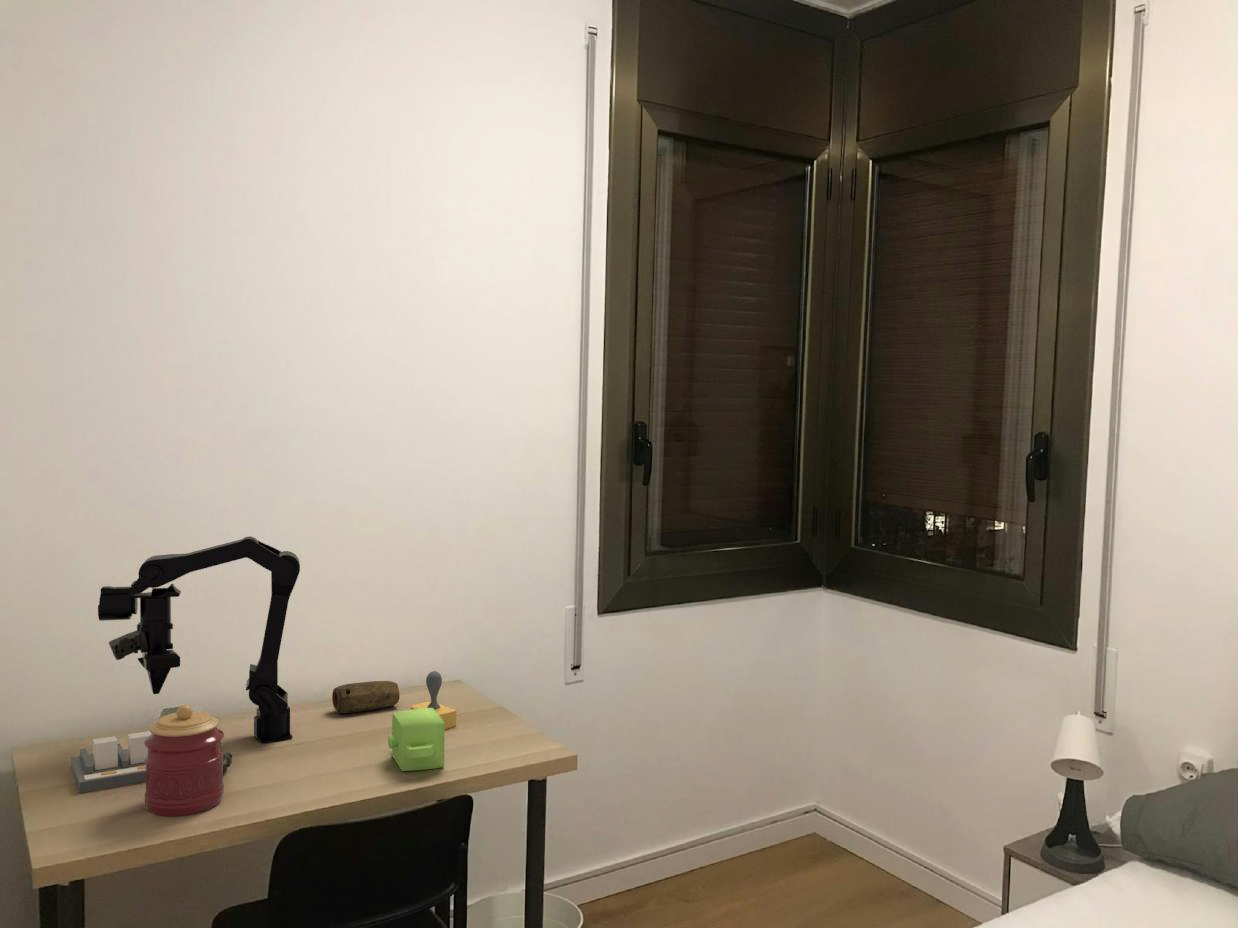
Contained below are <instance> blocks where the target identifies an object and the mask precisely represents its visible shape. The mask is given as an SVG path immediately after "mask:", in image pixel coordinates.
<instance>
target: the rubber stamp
mask: <svg viewBox="0 0 1238 928" xmlns="http://www.w3.org/2000/svg"><path fill="white" fill-rule="evenodd" d="M425 681H426V683H425V684H426V688H427V690H428V692H429V693H428V694H429V696H430V701H425V702H421V703H416V704H413V705H411V706H410V710H412V709H420V708H433V709H434V710H435V711H436V712H437V713H438V714H439V715H440V717H441V718H442V720H443V721H444V723H445V730H447V729H451V728H455V727H457V710H456V709H453V708H451V707H448V706H446V705H443V704H440V703H438V701H437V700H438V694H439V692H440V689H441V686H442V683H443V677H442V675H441V673H440V672H438V671H436V670H431V671H430V672H429V673H428V674H427V676H426V680H425Z"/></svg>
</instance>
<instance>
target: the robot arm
mask: <svg viewBox="0 0 1238 928" xmlns="http://www.w3.org/2000/svg"><path fill="white" fill-rule="evenodd" d="M246 558H247V559H249V560H251V561H253V562H254V563H256V565H259V566H261V567H262V568H264V569H265V570H266V571H269V572H270V573H271V576H270V577H271V578H270V579H271V580H270V581H271V584H270V585H271V597H270V602H269V606H268V613H267V619H266V623H265V629H264V635H263V640H262V644H261V645H262V646H261V650H260V651H261V652H260V657H259V659H258V661H257V663H256V665H255V664H252V663H250V664H249V672H248V673H249V674H248V678H247V680H246V684H245V685H246V686H245V691H248V699H249V700H250V701H251V702H252V704H254V705H256V706H257V708H256V715H254V716H253V736H255V738H256V739H257V740H258V741H259V742H260V743H261V744H265V743H272V742H278V741H284V740H289V739H293V734H292V733H291V708H290V706H289V700H288V699H289V696H288V694H289V692H287V691H286V690H285V689H284V688H282V687H281V686H280V685H279V684H278V683H279V681H278V680H279V675H278V672H279V668H278V665H279V664H278V663H279V662H278V661H279V655H280V649H281V644H282V639H283V633H284V628H285V622H286V619H287V618H286V617H287V611H288V606H289V600H290V597H291V595H292V592H293V591H294V588H295V585H296V582H297V580H298V577H299V574H300V572H301V564H300V563H301V562H300V558H299V557H298V556H297V554H296V553H294V552H291V551H289V550H286V551H285V550H283V551H281V550H280V549H278V548H275V547H273V546H271V545H269V544H267V543H264V542H262V541H260V540H258V539H257V538H256V537H254V536H251V535H250V536H245V537H243V538H241V539H237V540H233V541H230V542H226V543H223V544H222V543H221V544H218V545H214V546H210V547H206V548H203V549H199V550H195V551H192V552H187V553H186V552H185V553H171V554H169V553H167V554H161V555H160V554H158V555H152V556H150V557H148V558H146V560H145V561H144V562H143V563H141V566H140V567H139V569H138V578H137V579H136V580H133V581H132V583H131V584H130V586H108V585H107V586H106V585H105V586H101V588H100V594H99V600H98V601H99V602H98V605H97V615H98V616H97V617H98V621H100V622H101V621H103V622H104V621H125V620H131V619H132V617H133V615H137V614H138V606H139V614H140V615H139V616H140V617H139V621H140V622H138V624H136V630H134V631H132V632H128V633H126V634H123V635H121V636H119V637H117V638H114V639H112V640H110V641H108V645H109V647H110V649H111V652H112V654H113V657H114V658H115V660H117V661H118V660H119V661H120V660H122V659H124V658H125V657H126V656H129V655H132V654H138V653H139V651H140V653H141V657H137V661H138V663H140V665H141V666H142V668H144V669H145V670H146V672H147V675H148V679H149V684H150V687H151V692H152V694H153V695H158V694H160V692H161V690H162V688H163V686H164V684H165V682H166V680H167V678H168V675H169V674H170V671H171V669H175V668H179V667H181V656H180V655H179V654H178V653H177V652H176V651H175V650H173V649H174V644H173V642H172V630H173V629H174V624H173V622H172V613H171V611H172V607H171V606H172V603H171V602H172V598H178V597H180V596H181V593H182V591H181V590H180V589H178V588H177V587H176V586H175V584H174V583H171V582H173V581H176V580H177V579H180V578H181V577H183V576H185V575H187V574H190V573H192V572H196V571H200V570H204V569H208V568H212V567H215V566H220V565H223V564H227V563H230V562H234V561H237V560H241V559H246ZM169 583H171V584H170V585H169V586H167V587H163V586H165V585H166V584H169ZM149 588H151V591H150V592H149V591H148V592H144V591H146V590H148V589H149ZM138 599H139V600H140V601H139V602H138ZM138 603H139V604H138Z"/></svg>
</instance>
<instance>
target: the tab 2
mask: <svg viewBox="0 0 1238 928" xmlns="http://www.w3.org/2000/svg"><path fill="white" fill-rule="evenodd" d="M151 734H152V733H151V732H150V730H147V731H141V732H140V731H139V732H136V733H129V734H128V735H127V749H128V760H129V762H130V764H131V765H132V764H138V763H144V762H145V758H146V757H147V754H148V748H147V747H146V746H145V744H144V741H145V739H146V738H147V737H148V736H150V735H151Z"/></svg>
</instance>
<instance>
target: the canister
mask: <svg viewBox="0 0 1238 928" xmlns="http://www.w3.org/2000/svg"><path fill="white" fill-rule="evenodd" d="M219 723H220V722H219V719H218V718H217V717H215V716H212V715H210V713H208V712H205V711H199V710H193V708H192V707H191V706H190V705H188V704H182V705H180V706H179V707H178V708H177V710H176V712H172V713H169V714H165V715H163V716H162V717H160V718H159V719H158V720H156V721H155V722H153V723H152V724H150V726H149V731H150V733H151V735H150V736H148V737H147V738H146V739H145V741H144V744H145V746H146V747H147V748H148V754H147V757H146V758H145V764H146V782H145V792H144V803H145V805H146V806H145V807H146V810H147V811H148V812H150V813H152V814H155V815H157V816H158V815H159V816H167V817H178V816H180V817H181V816H186V815H187V816H189V815H193V814H198V813H202V812H204V811H207V809H208V810H209V809H212V808H214V807H215V806H217V805H219V804H220V803H221V802H222V800H223V794H224V791H225V789H224V787H225V784H224V755H225V754H224V753H225V752H224V750H223V748H222V745H221V743H222V740H223V738H224V736H225V734H224V733H225V732H224V731H223V730H222V729H220V728H218V725H219Z"/></svg>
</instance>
